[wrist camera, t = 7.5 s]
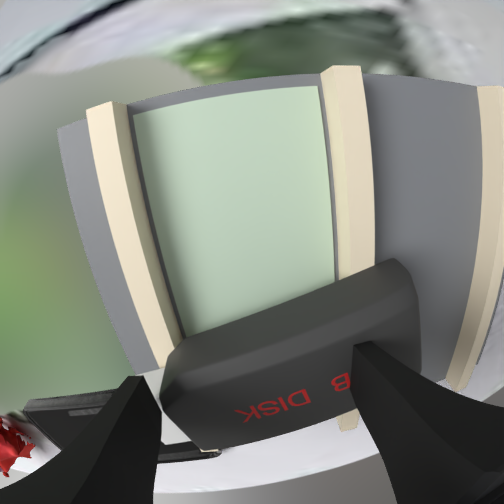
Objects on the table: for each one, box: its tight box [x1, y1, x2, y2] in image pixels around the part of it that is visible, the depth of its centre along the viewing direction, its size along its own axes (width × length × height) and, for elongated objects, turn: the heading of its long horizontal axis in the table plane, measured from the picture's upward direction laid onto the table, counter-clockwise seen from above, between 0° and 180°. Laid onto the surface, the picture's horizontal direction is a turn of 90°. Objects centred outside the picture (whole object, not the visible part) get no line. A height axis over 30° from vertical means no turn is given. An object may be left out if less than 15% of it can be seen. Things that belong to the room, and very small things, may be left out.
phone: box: [23, 388, 222, 464], centre depth 17 cm, size 8×1×15 cm
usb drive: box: [135, 258, 422, 451], centre depth 11 cm, size 5×12×3 cm, turn 112°
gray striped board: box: [57, 66, 504, 452], centre depth 13 cm, size 22×18×2 cm
